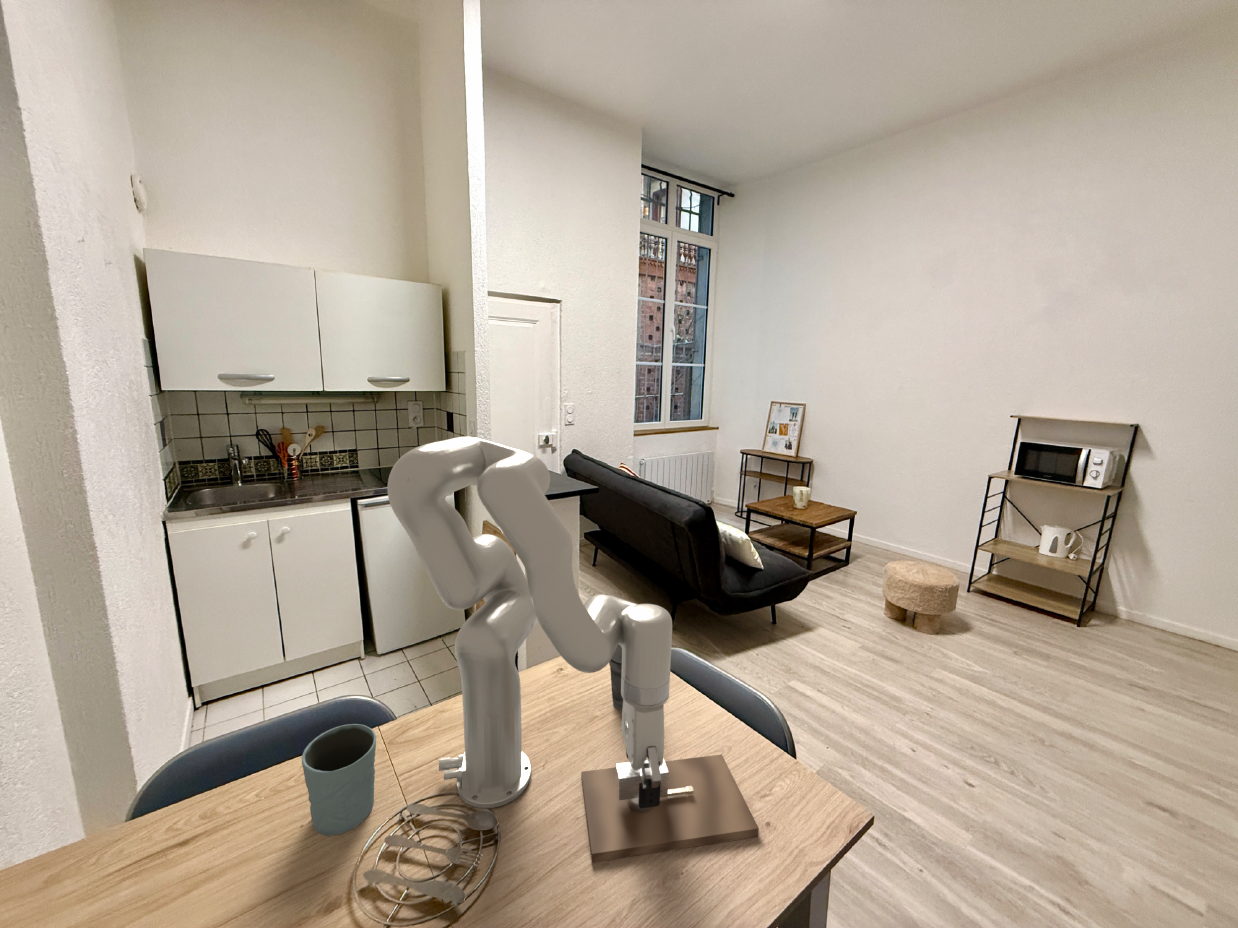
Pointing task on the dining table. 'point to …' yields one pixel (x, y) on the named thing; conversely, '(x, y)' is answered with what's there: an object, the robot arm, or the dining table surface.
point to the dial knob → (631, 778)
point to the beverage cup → (616, 677)
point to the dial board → (667, 811)
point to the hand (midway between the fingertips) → (641, 779)
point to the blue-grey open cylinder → (340, 777)
